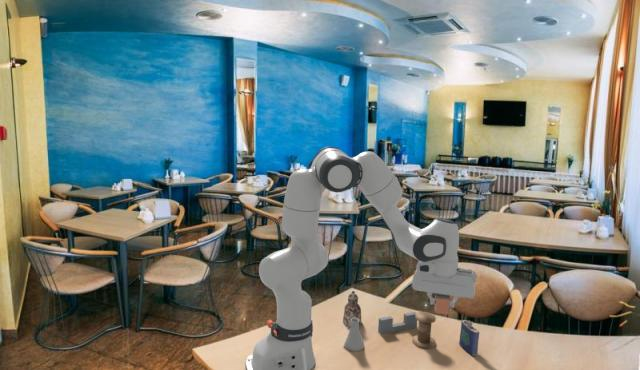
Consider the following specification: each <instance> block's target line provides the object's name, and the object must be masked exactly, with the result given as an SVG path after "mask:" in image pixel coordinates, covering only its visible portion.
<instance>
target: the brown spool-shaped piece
mask: <svg viewBox="0 0 640 370" xmlns="http://www.w3.org/2000/svg"><path fill="white" fill-rule="evenodd" d="M415 318H416V320H417V322H418V325H417V328H418V329H417V334H416V335H414V336H412V340H411V343H412V344H413V345H414V346H416V347H418V348H421V349H432V348H434V347H435V346H436V340H435V339H434V337H432V334H431V333H432V324H433V323H435V322H436V318H437V317H436V316H435V315H434V313H431V312H427V311H418V312H416V315H415Z"/></svg>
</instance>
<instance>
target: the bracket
mask: <svg viewBox="0 0 640 370" xmlns="http://www.w3.org/2000/svg"><path fill="white" fill-rule="evenodd" d="M416 313H417V312H416V311H413V312H412V311H411V312H408V313H403V321H402V322H398V323H393V322H394V317H392V316H391V315H390V316H384V317H379V318H378V327H377V329H378V330H377V332H378V334H379V335H383V334H388V333H394V332H399V331H403V330H410V329H414V328H415V329H416V328H418V320H416V318H415V315H416Z"/></svg>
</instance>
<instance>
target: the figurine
mask: <svg viewBox="0 0 640 370" xmlns="http://www.w3.org/2000/svg"><path fill="white" fill-rule="evenodd" d="M351 318H358V319H360V320H359V326H360V325H361V323H362V310H361V306H360V304H359V296H358V294H356V293H355V291H354V290H352V291H351V293H350V294H349V295H348V297H347V303H346V304H345V306H344V311H343V316H342V322H343V323H344V324H345V325H346V326H348V327H351Z"/></svg>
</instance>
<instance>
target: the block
mask: <svg viewBox="0 0 640 370" xmlns="http://www.w3.org/2000/svg"><path fill="white" fill-rule="evenodd" d="M434 295H435V297H434V299H435V305H434V313H435V314H439V315H440V314H441V315H442V314H443V315H450V308H449V306H450V301H451V299H450V298H451V295H444V294H437V293H434Z"/></svg>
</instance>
